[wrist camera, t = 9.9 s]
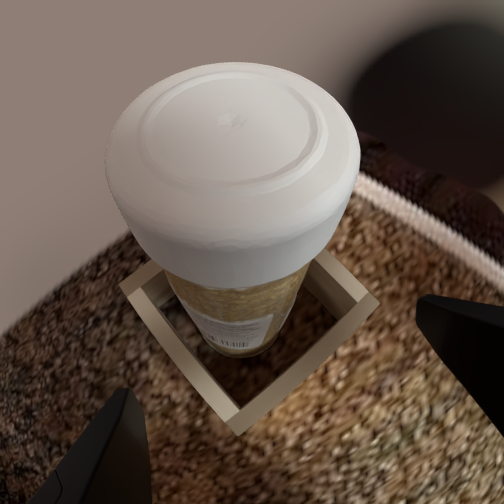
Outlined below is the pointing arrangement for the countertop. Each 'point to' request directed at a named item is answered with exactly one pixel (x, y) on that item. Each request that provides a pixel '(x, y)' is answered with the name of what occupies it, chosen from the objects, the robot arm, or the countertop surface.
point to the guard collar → (241, 418)
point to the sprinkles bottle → (233, 191)
